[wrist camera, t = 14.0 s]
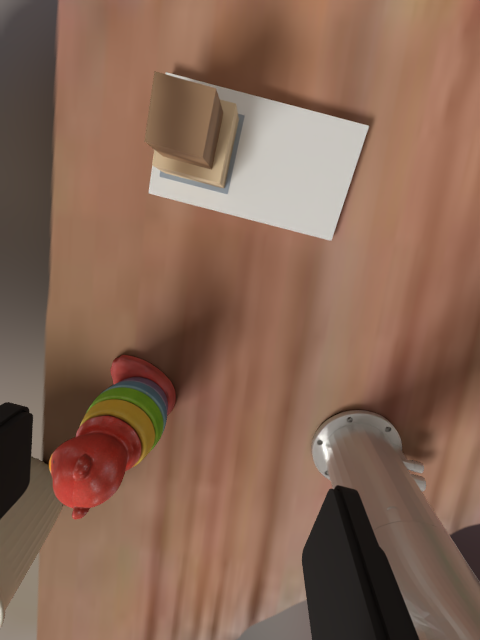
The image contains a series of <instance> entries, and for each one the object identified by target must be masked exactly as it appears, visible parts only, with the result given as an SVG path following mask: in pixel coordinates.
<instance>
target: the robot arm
mask: <svg viewBox="0 0 480 640" xmlns="http://www.w3.org/2000/svg"><path fill="white" fill-rule="evenodd" d="M32 423H33V415H32V414H31V413H29V409H28V407H25V406H21V405H17V404H13V403H9V402H8V403H4V404H2V405H0V519H1V518H2V517H3V516H4V515H5V514H6V513H7V512H8V511H9V510H10V508H11V507H12V506H13V505H14V504H15V503H16V502H17V501H18V500H19V498H20V497H21V496H22V495H23V494H24V493H25V491H26V490H27V488H28V486H29V483H30V469H31V445H32ZM311 447H312V456H313V460H314V463H315V465H316V467H317V469H318V470H319V471H320V473H321V474H322V475H323V476H325V477H326V478H328V479H329V480H331V484H332V487H333V489H330V490H329V491H328V493H327V495H326V498H325V500H324V502H323V505H322V507H321V509H320V512H319V514H318V516H317V519H316V521H315V523H314V526H313V528H312V530H311V533H310V535H309V537H308V540H307V542H306V544H305V547H304V549H303V554H302V566H303V573H304V581H305V589H306V596H307V604H308V611H309V619H310V626H311V633H312V640H480V582H479V580H478V579H477V577H476V576H475V574H474V573H473V571H472V570H471V568H470V567H469V565H468V564H467V562H466V561H465V559H464V558H463V556H462V554H461V553H460V551H459V550H458V548H457V547H456V545H455V543H454V542H453V540H452V539H451V537H450V536H449V534H448V532H447V531H446V529H445V528H444V526H443V525H442V523H441V521H440V520H439V518H438V517H437V515H436V513H435V512H434V510H433V509H432V507H431V505H430V504H429V502H428V501H427V499H426V498H425V496H424V494H423V493H422V491H424V490H425V488H426V481H425V479H424V478H423V477H422V476H418V475H414V474H410V472H409V471H408V470H411V471H414V472H418V473H422V472H423V471H424V466H423V464H422V463H421V462H417V461H413V460H407V458H406V457H405V456H404V454H403V452H402V442H401V438H400V436H399V434H398V432H397V430H396V429H395V427H394V426H393V425H392V424H391V423H390V422H389V421H388V420H387V419H385V418H384V417H383V416H381V415H379V414H376V413H374V412H370V411H364V410H352V411H346V412H342V413H339V414H337V415H335V416H332V417H331V418H329V419H328V420H326V421H325V422H324V423H323V424H322V425H321V426H320V427H319V428H318V430H317V431H316V433H315V435H314V437H313V440H312V445H311Z"/></svg>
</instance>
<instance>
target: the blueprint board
mask: <svg viewBox="0 0 480 640" xmlns="http://www.w3.org/2000/svg"><path fill="white" fill-rule="evenodd" d="M166 75H170V76H173V77H177V78H181V79H184V80H188V81H191V82H195V83H199V84H202V85H206V86H210V87H213V88H216V89H217V93H218V96H219V99H220V100H224V101H228V102H232V103H236V105H237V111H238V117H239V122H238V126H237V131H236V136H235V141H234V145H233V150H232V155H231V159H230V164H229V169H228V173H227V178H226V183H225V187H224V188H220V187H216V186H212V185H208V184H204V183H201V182H197V181H193V180H189V179H185V178H181V177H178V176H174V175H170V174H166V173H164V172H162V171H160V170H159V169H157V168H156V167H154V166H152V173H151V180H150V186H149V193H150V194H153V195H157V196H161V197H164V198H168V199H172V200H176V201H180V202H184V203H187V204H191V205H195V206H199V207H203V208H207V209H211V210H214V211H218V212H222V213H226V214H230V215H234V216H238V217H241V218H245V219H249V220H253V221H257V222H261V223H265V224H268V225H272V226H276V227H280V228H284V229H288V230H291V231H295V232H299V233H303V234H307V235H311V236H315V237H318V238H322V239H326V240H332V237H333V234H334V231H335V228H336V225H337V222H338V219H339V216H340V213H341V210H342V207H343V204H344V201H345V198H346V195H347V192H348V189H349V186H350V183H351V179H352V176H353V173H354V170H355V167H356V164H357V161H358V158H359V155H360V152H361V149H362V146H363V143H364V140H365V137H366V134H367V131H368V128H369V126H368V125H364V124H360V123H356V122H353V121H349V120H345V119H341V118H337V117H334V116H330V115H326V114H322V113H319V112H315V111H311V110H307V109H303V108H300V107H296V106H292V105H288V104H284V103H281V102H277V101H273V100H269V99H266V98H262V97H258V96H254V95H250V94H247V93H243V92H239V91H235V90H231V89H228V88H224V87H220V86H216V85H212V84H209V83H205V82H201V81H197V80H194V79H190V78H186V77H182V76H178V75H175V74H171V73H167V72H166Z"/></svg>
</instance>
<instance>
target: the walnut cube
mask: <svg viewBox="0 0 480 640" xmlns="http://www.w3.org/2000/svg"><path fill="white" fill-rule="evenodd" d="M223 114H224V113H223V110H222V106H221V103H220V99H219V96H218V93H217V89H216V88H213V87H210V86H206V85H202V84H199V83H195V82H191V81H188V80H184V79H181V78H177V77H173V76H170V75H166V74H162V73H159V72H155V71H154V78H153V85H152V92H151V99H150V106H149V113H148V120H147V127H146V134H145V141H144V142H146V143H147V144H148V145H149V146H151V147H152V148H153V149H154V150H156V151H157V152H158V153H159V154H161V155H162V156H163V157H167V158H170V159H174V160H178V161H181V162H185V163H189V164H192V165H196V166H200V167H204V168H207V169H211V170H212V167H213V162H214V157H215V152H216V147H217V142H218V138H219V133H220V128H221V123H222V118H223Z"/></svg>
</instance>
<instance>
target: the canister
mask: <svg viewBox="0 0 480 640" xmlns="http://www.w3.org/2000/svg"><path fill="white" fill-rule="evenodd" d="M62 506H63V503H61V502H60V501H59V500H58V499H57V497H56V496H55V493H54V490H53V478H52V475H51V472H50V469H49V465H48V464H45V463H44V462H43V461H40V460H39V459H35V458H33V457H31V469H30V483H29V486H28V488H27V490H26V491H25V493H24V494H23V495H22V496H21V497H20V498H19V500H18V501H17V502H16V503H15V504H14V505H13V506H12V507H11V508H10V510H9V511H8V512H7V513H6V514H5V515H4V516H3V517H2V518H1V519H0V628H1V627H2V624H3V621H4V618H5V610H6V608H7V606H8V604H9V603H10V601H11V599H12V598H13V596H14V594H15V593H16V591H17V589H18V587H19V586H20V584H21V582H22V580H23V579H24V577H25V575H26V573H27V571H28V570H29V568H30V566H31V565H32V563H33V561H34V559H35V558H36V556H37V554H38V552H39V551H40V549H41V547H42V545H43V543H44V542H45V540H46V538H47V536H48V534H49V532H50V531H51V529H52V527H53V525H54V523H55V521H56V519H57V518H58V516H59V514H60V511H61V509H62Z"/></svg>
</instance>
